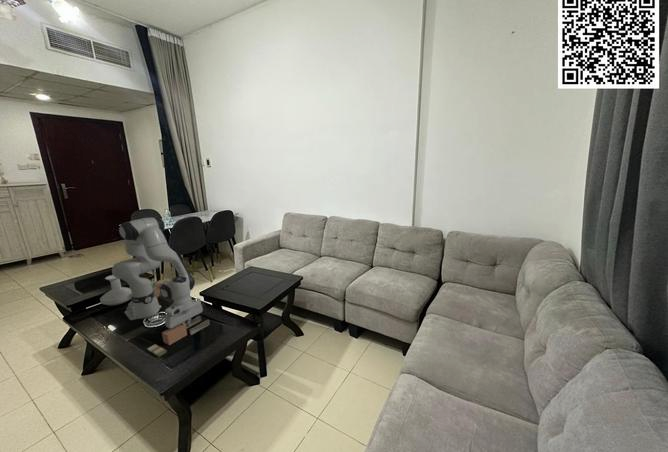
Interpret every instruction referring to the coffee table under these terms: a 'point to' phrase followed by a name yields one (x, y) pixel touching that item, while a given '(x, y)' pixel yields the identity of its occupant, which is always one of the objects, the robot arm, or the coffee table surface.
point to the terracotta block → (174, 334)
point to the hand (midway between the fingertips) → (186, 326)
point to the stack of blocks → (157, 287)
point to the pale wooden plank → (160, 351)
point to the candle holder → (116, 293)
